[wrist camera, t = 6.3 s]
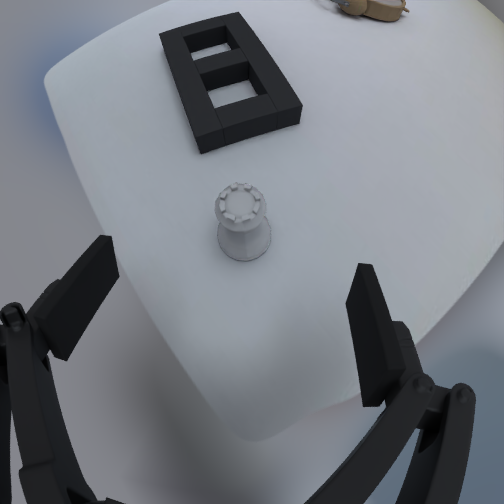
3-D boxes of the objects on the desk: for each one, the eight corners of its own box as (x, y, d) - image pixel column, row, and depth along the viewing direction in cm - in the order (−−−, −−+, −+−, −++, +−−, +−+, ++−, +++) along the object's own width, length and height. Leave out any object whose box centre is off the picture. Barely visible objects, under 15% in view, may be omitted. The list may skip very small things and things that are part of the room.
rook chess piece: (275, 258, 26) (282, 231, 18) (221, 265, 26) (206, 242, 18) (266, 208, 27) (270, 164, 19) (215, 215, 27) (200, 174, 19)
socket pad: (200, 154, 28) (195, 137, 25) (164, 50, 32) (158, 33, 29) (299, 123, 29) (303, 105, 26) (239, 28, 33) (238, 11, 30)
